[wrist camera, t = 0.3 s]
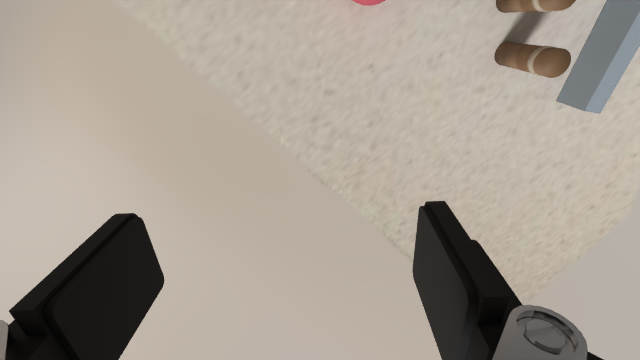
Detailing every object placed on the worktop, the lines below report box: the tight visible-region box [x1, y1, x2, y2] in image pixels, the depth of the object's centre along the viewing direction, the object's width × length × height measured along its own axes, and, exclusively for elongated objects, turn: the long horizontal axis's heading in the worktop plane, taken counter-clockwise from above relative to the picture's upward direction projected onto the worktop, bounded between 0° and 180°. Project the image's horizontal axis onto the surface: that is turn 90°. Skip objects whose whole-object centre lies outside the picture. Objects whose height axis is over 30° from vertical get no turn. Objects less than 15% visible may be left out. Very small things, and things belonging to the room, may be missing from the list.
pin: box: [495, 42, 571, 78], centre depth 31 cm, size 2×2×8 cm
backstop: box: [557, 0, 640, 114], centre depth 31 cm, size 16×2×4 cm, turn 171°
